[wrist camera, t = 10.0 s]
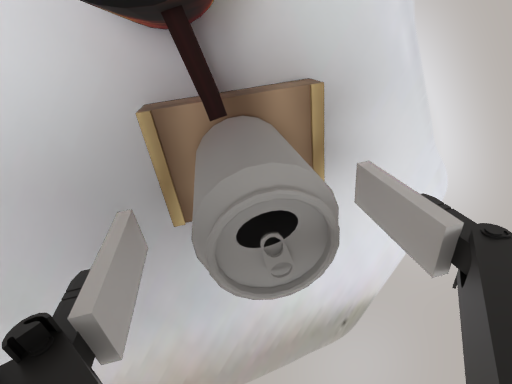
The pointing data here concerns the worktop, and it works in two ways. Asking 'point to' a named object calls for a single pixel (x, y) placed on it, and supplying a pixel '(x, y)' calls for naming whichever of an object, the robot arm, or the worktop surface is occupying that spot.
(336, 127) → the worktop surface
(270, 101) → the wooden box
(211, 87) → the mug
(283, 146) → the can
